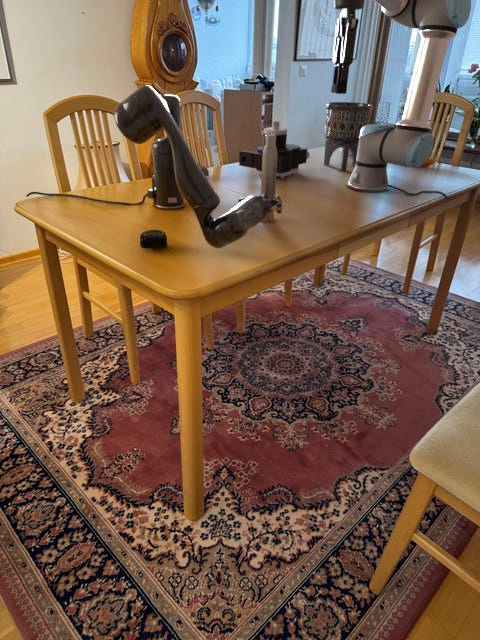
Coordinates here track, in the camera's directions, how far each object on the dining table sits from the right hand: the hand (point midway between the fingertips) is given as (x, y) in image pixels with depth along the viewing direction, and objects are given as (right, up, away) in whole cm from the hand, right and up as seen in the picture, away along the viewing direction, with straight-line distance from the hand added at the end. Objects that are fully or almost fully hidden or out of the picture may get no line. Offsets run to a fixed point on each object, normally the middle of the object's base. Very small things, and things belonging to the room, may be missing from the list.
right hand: (338, 92), depth 127 cm
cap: (0, +2, -1) cm, 2 cm away
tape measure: (-50, -45, -9) cm, 68 cm away
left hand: (-18, -26, +12) cm, 34 cm away
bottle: (-19, -33, +13) cm, 40 cm away
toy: (+58, +10, +89) cm, 106 cm away
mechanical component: (-10, 0, +69) cm, 70 cm away
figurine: (+30, +24, +112) cm, 118 cm away
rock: (-46, -7, +57) cm, 74 cm away
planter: (+20, +7, +84) cm, 86 cm away
